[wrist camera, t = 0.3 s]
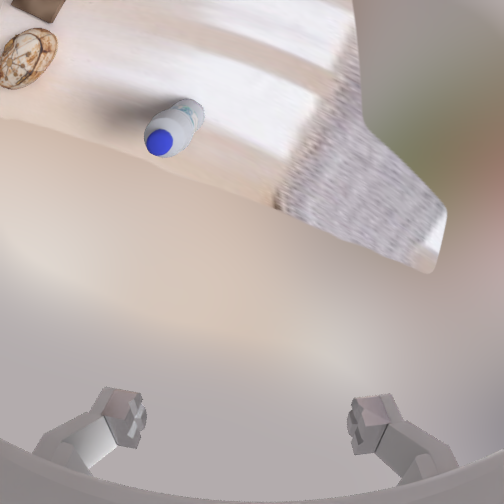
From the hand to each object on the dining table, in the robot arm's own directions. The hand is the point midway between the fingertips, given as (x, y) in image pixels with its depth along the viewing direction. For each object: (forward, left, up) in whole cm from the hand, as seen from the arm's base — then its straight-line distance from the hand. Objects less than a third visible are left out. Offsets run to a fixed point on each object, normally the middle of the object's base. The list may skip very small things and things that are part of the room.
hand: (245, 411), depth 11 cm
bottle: (+8, -10, -52) cm, 53 cm away
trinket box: (+15, -48, -52) cm, 72 cm away
